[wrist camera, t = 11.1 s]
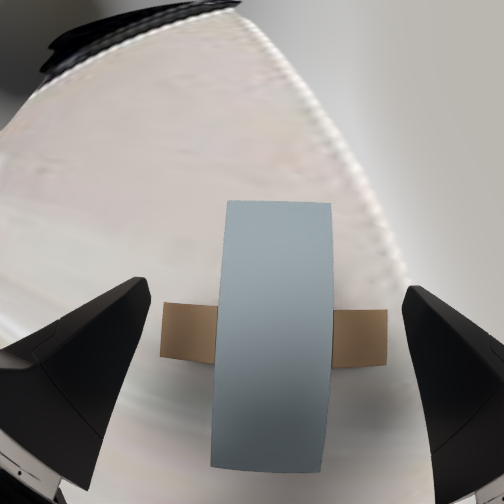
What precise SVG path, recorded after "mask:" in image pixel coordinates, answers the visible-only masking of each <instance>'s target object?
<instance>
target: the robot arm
mask: <svg viewBox="0 0 504 504" xmlns="http://www.w3.org/2000/svg"><path fill="white" fill-rule="evenodd" d="M150 304H151V295H150V291H149V287H148V283H147V280H146V279H145V278H144V277H133V278H131V279H129V280H127V281H126V282H124V283H122V284H120V285H118V286H116V287H115V288H113V289H111V290H109V291H107V292H106V293H104V294H102V295H100V296H98V297H97V298H95V299H93V300H91V301H89V302H88V303H86V304H84V305H82V306H81V307H79V308H77V309H75V310H74V311H72V312H70V313H68V314H67V315H65V316H63V317H61V318H60V320H59V319H58V320H56V321H54V322H53V323H51V324H49V325H47V326H46V327H44V328H42V329H40V330H38V331H37V332H35V333H33V334H31V335H29V336H27V337H25V338H23V339H21V340H19V341H17V342H15V343H13V344H11V345H9V346H7V347H5V348H3V349H0V504H67V503H66V501H65V499H64V496H63V494H62V491H61V489H60V488H59V485H60V482H61V480H62V479H64V480H66V481H67V482H69V483H71V484H73V485H75V486H77V487H79V488H81V489H83V490H86V491H88V489H89V487H90V483H91V479H92V476H93V472H94V469H95V465H96V462H97V459H98V455H99V452H100V449H101V446H102V442H103V439H104V436H105V433H106V429H107V426H108V423H109V421H110V418H111V415H112V412H113V409H114V406H115V403H116V400H117V398H118V395H119V392H120V389H121V387H122V384H123V381H124V379H125V376H126V373H127V371H128V368H129V366H130V363H131V360H132V358H133V355H134V353H135V350H136V348H137V345H138V343H139V340H140V337H141V334H142V331H143V328H144V324H145V321H146V317H147V314H148V310H149V307H150ZM402 315H403V320H404V325H405V331H406V336H407V342H408V347H409V351H410V355H411V359H412V363H413V366H414V370H415V374H416V378H417V383H418V387H419V391H420V396H421V400H422V405H423V410H424V415H425V421H426V426H427V432H428V438H429V445H430V452H431V461H432V469H433V479H434V491H435V504H454V503H456V502H459V501H461V500H463V499H466V498H468V497H470V496H472V495H475V497H476V503H477V504H504V345H503V344H502V343H500V342H499V341H498V340H496V339H495V338H494V337H492V336H491V335H489V334H488V333H487V332H486V331H484V330H483V329H482V328H480V327H479V326H477V325H476V324H475V323H473V322H472V321H471V320H469V319H468V318H466V317H465V316H464V315H462V314H461V313H459V312H458V311H456V310H455V309H454V308H452V307H451V306H449V305H448V304H446V303H445V302H443V301H442V300H440V299H439V298H438V297H436V296H435V295H433V294H431V293H430V292H429V291H427V290H425V289H424V288H423V287H421V286H409V287H408V289H407V291H406V295H405V298H404V301H403V304H402Z"/></svg>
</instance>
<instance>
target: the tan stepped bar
mask: <svg viewBox="0 0 504 504" xmlns="http://www.w3.org/2000/svg"><path fill="white" fill-rule="evenodd" d="M217 320H218V306H205V305H191V304H178V303H167V302H164V307H163V319H162V332H161V347H160V357H165V358H172V359H179V360H187V361H196V362H205V363H215V351H216V335H217ZM387 322H388V314H387V310H333V336H332V358H331V368H347V367H368V366H383V365H386V359H387Z"/></svg>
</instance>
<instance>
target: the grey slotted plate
mask: <svg viewBox="0 0 504 504" xmlns="http://www.w3.org/2000/svg"><path fill="white" fill-rule="evenodd" d="M332 336H333V236H332V213H331V203H314V202H285V201H227V211H226V221H225V232H224V243H223V255H222V267H221V279H220V292H219V306H218V320H217V335H216V351H215V369H214V388H213V410H212V436H211V467H216V468H223V469H232V470H241V471H253V472H271V473H316V472H320V469H321V462H322V455H323V447H324V439H325V431H326V422H327V412H328V401H329V389H330V375H331V358H332Z"/></svg>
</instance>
